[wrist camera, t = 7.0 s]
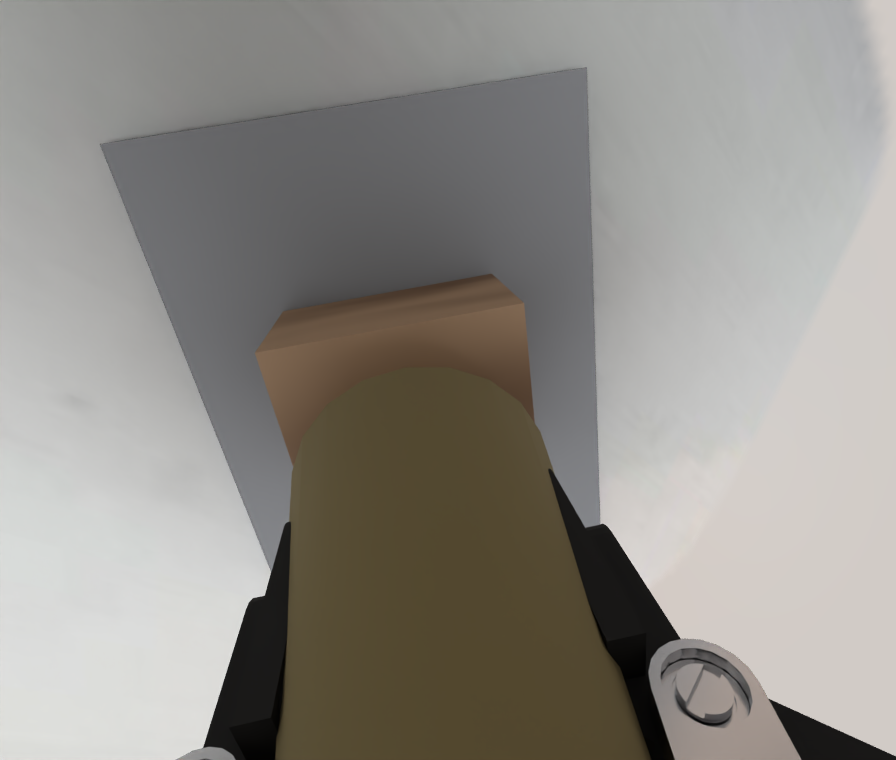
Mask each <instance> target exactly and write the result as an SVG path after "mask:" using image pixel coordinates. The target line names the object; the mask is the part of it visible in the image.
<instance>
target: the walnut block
mask: <svg viewBox="0 0 896 760" xmlns="http://www.w3.org/2000/svg"><path fill="white" fill-rule="evenodd" d="M255 355H256V358H257V361H258V364H259V367H260V370H261V373H262V376H263V379H264V382H265V385H266V388H267V391H268V394H269V397H270V400H271V403H272V406H273V409H274V412H275V415H276V418H277V421H278V424H279V426H280V429H281V432H282V435H283V438H284V441H285V444H286V447H287V450H288V453H289V456H290V459H291V462H292V465H293V467H294V463H295V460H296V457H297V453H298V450H299V447H300V443H301V440H302V437H303V435H304V434H305V433H306V431H307V430H308V429H309V427H310V426H311V425H312V423H313V422H314V421H315V420H316V418H317V417H318V416H319V414H320V413H321V412H322V410H323V409H324V408H325V406H326V405H327V404H328V403H330V402H331V401H333V400H334V399H336V398H337V397H339V396H340V395H342V394H343V393H345V392H346V391H348V390H349V389H351V388H352V387H354V386H355V385H357V384H358V383H359V382H361V381H362V380H365V379H369V378H372V377H375V376H379V375H382V374H385V373H389V372H392V371H395V370H398V369H402V368H405V367H450V368H453V369H457V370H460V371H463V372H466V373H469V374H473V375H476V376H479V377H482V378H486V379H489V380H491V381H492V382H493V383H495V384H496V385H498V386H499V387H500V388H502V389H503V390H504V391H506V392H507V393H509V394H510V395H511V396H513V397H514V398H515V399H517V400H518V401H520V402H521V403H522V405H523V406H524V408H525V409H526V411H527V412H528V414H529V415H530V417H531V418H532V420H533V421H534V423H535V419H534V408H533V397H532V386H531V375H530V364H529V353H528V341H527V330H526V319H525V308H524V303H523V302H522V301H521V300H520V299H519V298H518V297H517V296H516V295H515V294H514V293H512V292H511V291H510V290H509V289H508V288H507V287H506V286H505V285H504V284H503V283H501V282H500V281H499V280H498V279H497V278H496V277H495V276H494V275H493V274H487V275H482V276H476V277H471V278H465V279H460V280H454V281H448V282H443V283H437V284H432V285H426V286H421V287H415V288H410V289H404V290H399V291H393V292H388V293H382V294H377V295H371V296H366V297H360V298H355V299H349V300H343V301H338V302H332V303H327V304H321V305H316V306H310V307H305V308H299V309H294V310H288V311H283V312H282V314H281V315H280V317H279V318H278V320H277V321H276V323H275V324H274V325H273V327H272V328H271V330H270V331H269V333H268V334H267V336H266V337H265V339H264V340H263V342H262V343H261V345H260V346H259V347H258V349H257V350H256V352H255Z"/></svg>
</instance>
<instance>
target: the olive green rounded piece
mask: <svg viewBox="0 0 896 760" xmlns="http://www.w3.org/2000/svg"><path fill="white" fill-rule="evenodd" d="M549 468H550V469H551V470H552V471H553V473H554V470H553V467H552V465H551V462H550V459H549V456H548V453H547V450H546V447H545V444H544V441H543V438H542V435H541V432H540V430H539V429H538V427H537V426H536V424H535V423H534V421H533V420H532V418H531V417H530V415H529V414H528V412H527V411H526V409H525V408H524V406H523V405H522V403H521V402H520V401H518V400H517V399H515V398H514V397H513V396H511V395H510V394H509V393H507V392H506V391H504V390H503V389H502V388H500V387H499V386H498V385H496V384H495V383H493V382H492V381H491V380H489V379H486V378H482V377H479V376H476V375H473V374H469V373H466V372H463V371H460V370H457V369H453V368H450V367H405V368H402V369H398V370H395V371H392V372H389V373H385V374H382V375H379V376H375V377H372V378H369V379H365V380H362V381H361V382H359V383H358V384H357V385H355V386H354V387H352V388H351V389H349V390H348V391H346V392H345V393H343V394H342V395H340V396H339V397H337V398H336V399H334V400H333V401H331V402H330V403H328V404H327V405H326V406H325V408H324V409H323V410H322V412H321V413H320V414H319V416H318V417H317V418H316V420H315V421H314V422H313V423H312V425H311V426H310V427H309V429H308V430H307V431H306V433H305V434H304V435H303V437H302V440H301V443H300V447H299V450H298V453H297V457H296V460H295V463H294V467H293V470H292V479H291V496H290V513H289V522H291V542H290V570H289V599H288V628H287V644H286V655H285V665H284V674H283V695H282V703H281V709H280V715H279V726H278V734H277V736H276V753H275V760H651V757H650V754H649V751H648V748H647V745H646V742H645V739H644V736H643V733H642V730H641V728H640V725H639V722H638V719H637V716H636V713H635V710H634V707H633V704H632V701H631V698H630V695H629V692H628V689H627V686H626V683H625V680H624V677H623V674H622V671H621V668H620V667H619V665H618V664H617V663H616V662H615V660H614V659H613V658H612V657H611V655H610V654H609V653H608V651H607V649H606V646H605V643H604V641H603V638H602V636H601V633H600V631H599V628H598V626H597V623H596V620H595V618H594V615H593V613H592V610H591V608H590V605H589V603H588V599H587V596H586V593H585V590H584V586H583V583H582V580H581V577H580V573H579V570H578V567H577V563H576V560H575V557H574V554H573V550H572V547H571V544H570V541H569V537H568V534H567V531H566V527H565V524H564V521H563V518H562V514H561V511H560V508H559V505H558V501H557V498H556V495H555V491H554V488H553V485H552V482H551V478H550V475H549V471H548V469H549ZM554 474H555V473H554Z"/></svg>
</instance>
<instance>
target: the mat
mask: <svg viewBox="0 0 896 760" xmlns="http://www.w3.org/2000/svg"><path fill="white" fill-rule="evenodd" d="M100 146H101V148H102V151H103V153H104V156H105V158H106V161H107V163H108V166H109V168H110V171H111V173H112V176H113V178H114V181H115V183H116V186H117V188H118V191H119V193H120V196H121V198H122V201H123V203H124V206H125V208H126V211H127V213H128V216H129V218H130V221H131V223H132V226H133V228H134V231H135V233H136V236H137V238H138V241H139V243H140V246H141V248H142V251H143V253H144V256H145V258H146V261H147V263H148V266H149V268H150V271H151V273H152V275H153V278H154V280H155V283H156V285H157V288H158V290H159V293H160V295H161V298H162V300H163V303H164V305H165V308H166V310H167V313H168V315H169V318H170V320H171V323H172V325H173V328H174V330H175V333H176V335H177V338H178V340H179V343H180V345H181V348H182V350H183V353H184V355H185V358H186V360H187V363H188V365H189V368H190V370H191V373H192V375H193V378H194V380H195V383H196V385H197V388H198V390H199V393H200V395H201V398H202V400H203V403H204V405H205V408H206V410H207V413H208V415H209V418H210V420H211V423H212V425H213V428H214V430H215V433H216V435H217V438H218V440H219V443H220V445H221V448H222V450H223V453H224V455H225V458H226V460H227V463H228V465H229V468H230V470H231V473H232V475H233V478H234V480H235V483H236V485H237V488H238V490H239V493H240V495H241V498H242V500H243V503H244V505H245V508H246V510H247V513H248V515H249V518H250V520H251V523H252V525H253V528H254V530H255V533H256V535H257V538H258V540H259V543H260V545H261V548H262V550H263V553H264V555H265V558H266V560H267V563H268V565H269V568H270V570H271V572H272V568H273V564H274V561H275V557H276V554H277V550H278V546H279V543H280V539H281V535H282V532H283V528H284V525H285V523H287V522H289V513H290V496H291V479H292V470H293V465H292V462H291V459H290V456H289V453H288V450H287V447H286V444H285V441H284V438H283V435H282V432H281V429H280V426H279V424H278V421H277V418H276V415H275V412H274V409H273V406H272V403H271V400H270V397H269V394H268V391H267V388H266V385H265V382H264V379H263V376H262V373H261V370H260V367H259V364H258V361H257V358H256V355H255V352H256V350H257V349H258V347H259V346H260V345H261V343H262V342H263V340H264V339H265V337H266V336H267V334H268V333H269V331H270V330H271V328H272V327H273V325H274V324H275V323H276V321H277V320H278V318H279V317H280V315H281V314H282V312H283V311H288V310H294V309H299V308H305V307H310V306H316V305H321V304H327V303H332V302H338V301H343V300H349V299H355V298H360V297H366V296H371V295H377V294H382V293H388V292H393V291H399V290H404V289H410V288H415V287H421V286H426V285H432V284H437V283H443V282H448V281H454V280H460V279H465V278H471V277H476V276H482V275H487V274H493V275H494V276H495V277H496V278H497V279H498V280H499V281H500V282H501V283H503V284H504V285H505V286H506V287H507V288H508V289H509V290H510V291H511V292H512V293H514V294H515V295H516V296H517V297H518V298H519V299H520V300H521V301H522V302H523V303H524V308H525V319H526V330H527V341H528V353H529V364H530V375H531V386H532V397H533V408H534V419H535V424H536V426H537V427H538V429H539V430H540V432H541V435H542V438H543V441H544V444H545V447H546V450H547V453H548V456H549V459H550V462H551V465H552V467H553V470H554V473H555V476H556V478H557V480H558V481H559V483H560V485H561V486H562V488H563V490H564V492H565V493H566V495H567V497H568V499H569V500H570V502H571V504H572V505H573V507H574V509H575V511H576V512H577V514H578V516H579V518H580V519H581V521H582V523H583V524H584V526H585V528H586V527H591V526H596V525H600V499H599V465H598V431H597V398H596V364H595V330H594V297H593V263H592V229H591V195H590V162H589V128H588V94H587V67H586V68H579V69H573V70H567V71H560V72H554V73H548V74H541V75H535V76H529V77H522V78H516V79H510V80H503V81H497V82H491V83H484V84H478V85H472V86H465V87H459V88H453V89H446V90H440V91H434V92H427V93H421V94H414V95H408V96H402V97H395V98H389V99H383V100H376V101H370V102H364V103H357V104H351V105H345V106H338V107H332V108H326V109H319V110H313V111H307V112H300V113H294V114H288V115H281V116H275V117H269V118H262V119H256V120H250V121H243V122H237V123H231V124H224V125H218V126H212V127H205V128H199V129H193V130H186V131H180V132H174V133H167V134H161V135H155V136H148V137H142V138H136V139H129V140H123V141H117V142H110V143H104V144H100Z"/></svg>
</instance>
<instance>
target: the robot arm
mask: <svg viewBox="0 0 896 760" xmlns="http://www.w3.org/2000/svg"><path fill="white" fill-rule="evenodd" d="M548 471H549V475H550V478H551V482H552V485H553V488H554V491H555V495H556V498H557V501H558V505H559V508H560V511H561V514H562V518H563V521H564V524H565V527H566V531H567V534H568V537H569V541H570V544H571V547H572V550H573V554H574V557H575V560H576V563H577V567H578V570H579V573H580V577H581V580H582V583H583V586H584V590H585V593H586V596H587V599H588V603H589V605H590V608H591V610H592V613H593V615H594V618H595V620H596V623H597V626H598V628H599V631H600V633H601V636H602V638H603V641H604V643H605V646H606V649H607V651H608V653H609V654H610V655H611V657H612V658H613V659H614V660H615V662H616V663H617V664H618V665H619V667H620V668H621V671H622V674H623V677H624V680H625V683H626V686H627V689H628V692H629V695H630V698H631V701H632V704H633V707H634V710H635V713H636V716H637V719H638V722H639V725H640V728H641V730H642V733H643V736H644V739H645V742H646V745H647V748H648V751H649V754H650V757H651V760H896V756H894V755H891V754H889V753H887V752H885V751H882V750H880V749H878V748H876V747H874V746H871V745H869V744H867V743H865V742H863V741H861V740H858V739H856V738H854V737H852V736H849V735H847V734H845V733H843V732H840V731H838V730H836V729H834V728H832V727H830V726H827V725H825V724H823V723H821V722H818V721H816V720H814V719H812V718H810V717H808V716H805V715H803V714H801V713H799V712H797V711H794V710H792V709H790V708H788V707H786V706H783V705H781V704H779V703H777V702H774V701H772V700H770V699H768V698H767V695H766V694H765V692H764V690H763V688H762V686H761V684H760V683H759V681H758V680H757V678H756V677H755V676H754V674H753V673H752V671H751V670H750V669H749V667H748V666H746V665H745V664H744V663H743V662H742V661H741V660H740V659H738V658H737V657H736V656H735V655H734V654H732V653H731V652H729V651H727V650H725V649H723V648H722V647H720V646H718V645H716V644H712V643H709V642H706V641H703V640H696V639H680V637H679V636H678V634H677V633H676V631H675V630H674V628H673V627H672V625H671V623H670V622H669V621H668V619H667V617H666V616H665V614H664V613H663V611H662V609H661V608H660V606H659V605H658V603H657V602H656V600H655V599H654V597H653V596H652V594H651V592H650V591H649V589H648V588H647V586H646V585H645V583H644V582H643V580H642V578H641V577H640V575H639V574H638V572H637V571H636V569H635V568H634V566H633V564H632V563H631V561H630V560H629V558H628V557H627V555H626V554H625V552H624V551H623V549H622V547H621V546H620V544H619V543H618V541H617V540H616V538H615V537H614V535H613V533H612V532H611V531H610V529H609V528H608V527H607V526H606V525H604V524H601V525H596V526H591V527H586V528H585V526H584V524H583V523H582V521H581V519H580V518H579V516H578V514H577V512H576V511H575V509H574V507H573V505H572V504H571V502H570V500H569V499H568V497H567V495H566V493H565V492H564V490H563V488H562V486H561V485H560V483H559V481H558V480H557V478H556V476H555V474H554V473H553V471H552V470H551V469H550V468H549V469H548ZM290 542H291V522H287V523H285V525H284V528H283V532H282V535H281V539H280V543H279V546H278V550H277V554H276V557H275V561H274V564H273V568H272V572H271V575H270V579H269V583H268V586H267V590H266V594H265V596H262V597H257V598H253V599H252V600H251V601H250V602H249V604H248V606H247V609H246V611H245V615H244V618H243V621H242V624H241V628H240V631H239V634H238V637H237V641H236V644H235V647H234V650H233V653H232V657H231V660H230V663H229V666H228V670H227V673H226V676H225V679H224V682H223V686H222V689H221V692H220V695H219V699H218V702H217V705H216V708H215V711H214V715H213V718H212V721H211V724H210V728H209V731H208V734H207V737H206V741H205V744H204V747H203V748H202V749H198V750H194V751H191V752H190V753H188V754H186V755H184V756H182V757H180V758H178V759H177V760H275V753H276V736H277V734H278V726H279V715H280V709H281V703H282V695H283V674H284V665H285V655H286V644H287V628H288V599H289V570H290Z"/></svg>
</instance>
